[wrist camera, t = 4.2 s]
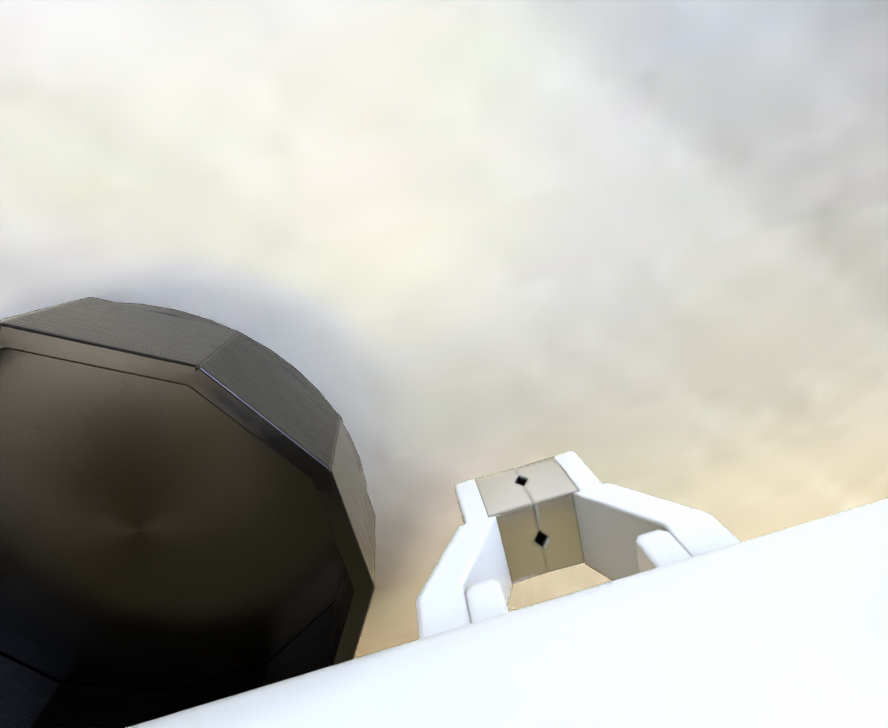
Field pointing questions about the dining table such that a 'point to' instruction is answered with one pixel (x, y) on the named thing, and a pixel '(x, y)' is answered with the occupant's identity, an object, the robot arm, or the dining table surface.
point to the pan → (167, 518)
